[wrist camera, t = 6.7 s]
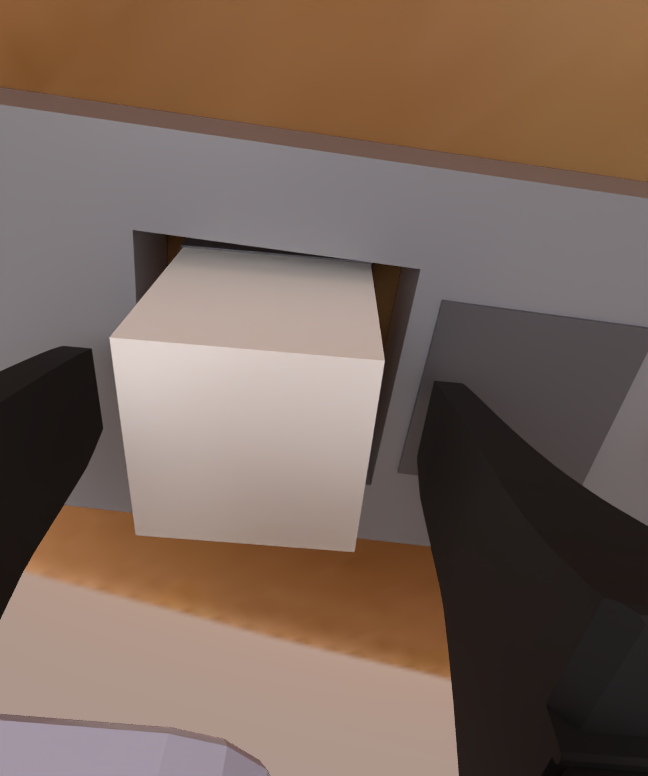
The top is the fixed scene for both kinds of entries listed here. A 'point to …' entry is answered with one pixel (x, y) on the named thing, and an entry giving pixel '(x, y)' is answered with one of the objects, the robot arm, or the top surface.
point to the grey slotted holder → (354, 242)
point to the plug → (250, 396)
